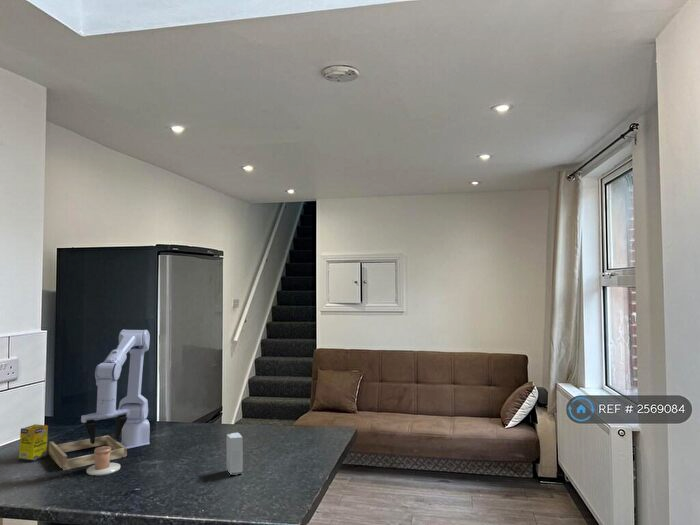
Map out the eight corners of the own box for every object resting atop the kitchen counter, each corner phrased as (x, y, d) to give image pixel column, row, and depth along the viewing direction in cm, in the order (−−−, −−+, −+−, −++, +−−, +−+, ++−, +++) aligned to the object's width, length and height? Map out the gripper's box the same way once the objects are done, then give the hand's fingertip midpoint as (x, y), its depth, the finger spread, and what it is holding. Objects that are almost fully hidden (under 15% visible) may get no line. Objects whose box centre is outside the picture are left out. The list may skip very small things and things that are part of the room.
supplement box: (32, 462, 166) (34, 429, 167) (18, 460, 168) (19, 428, 168) (47, 456, 172) (48, 425, 173) (32, 455, 173) (34, 423, 174)
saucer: (114, 462, 168) (114, 460, 168) (124, 470, 160) (124, 468, 160) (82, 469, 161) (82, 467, 161) (91, 478, 154) (91, 476, 154)
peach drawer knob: (107, 463, 165) (108, 445, 165) (112, 467, 161) (113, 448, 162) (91, 466, 161) (92, 448, 162) (96, 471, 158) (97, 452, 158)
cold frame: (108, 443, 188) (108, 431, 188) (126, 456, 173) (127, 443, 174) (48, 454, 174) (49, 441, 174) (63, 470, 160) (63, 456, 160)
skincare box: (243, 474, 158) (244, 437, 159) (229, 476, 156) (230, 438, 157) (238, 468, 164) (239, 431, 165) (225, 470, 162) (226, 433, 163)
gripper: (86, 404, 154) (84, 448, 153) (133, 398, 164) (131, 439, 163) (80, 400, 159) (78, 442, 159) (126, 394, 169) (124, 434, 168)
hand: (104, 440), depth 161 cm, fingers open, 7 cm apart
